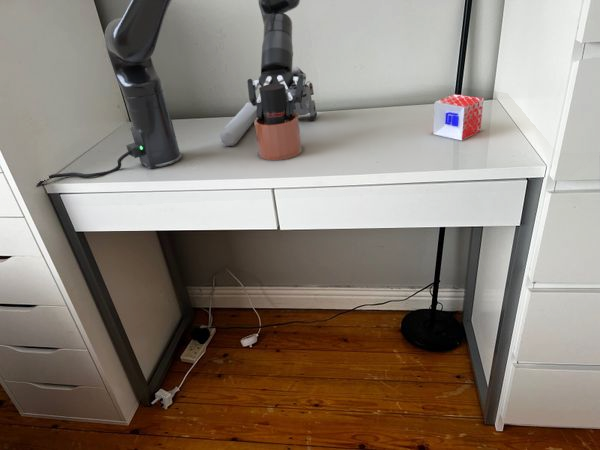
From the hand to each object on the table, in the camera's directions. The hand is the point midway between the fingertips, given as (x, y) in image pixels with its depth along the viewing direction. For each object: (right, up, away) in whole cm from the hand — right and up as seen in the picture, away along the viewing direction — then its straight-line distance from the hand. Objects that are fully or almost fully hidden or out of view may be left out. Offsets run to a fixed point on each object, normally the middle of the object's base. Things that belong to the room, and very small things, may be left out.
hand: (274, 118), depth 104 cm
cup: (+1, -7, +6) cm, 9 cm away
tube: (-11, +1, +23) cm, 25 cm away
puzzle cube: (+44, -2, +5) cm, 44 cm away
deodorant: (+1, -6, +6) cm, 8 cm away
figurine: (+6, +5, +26) cm, 27 cm away
